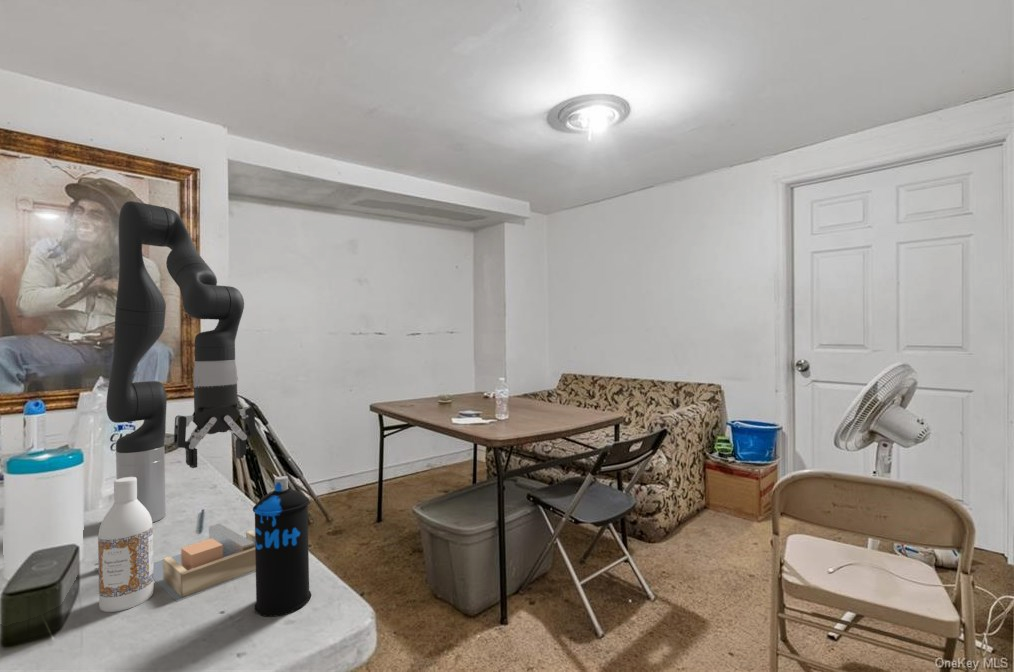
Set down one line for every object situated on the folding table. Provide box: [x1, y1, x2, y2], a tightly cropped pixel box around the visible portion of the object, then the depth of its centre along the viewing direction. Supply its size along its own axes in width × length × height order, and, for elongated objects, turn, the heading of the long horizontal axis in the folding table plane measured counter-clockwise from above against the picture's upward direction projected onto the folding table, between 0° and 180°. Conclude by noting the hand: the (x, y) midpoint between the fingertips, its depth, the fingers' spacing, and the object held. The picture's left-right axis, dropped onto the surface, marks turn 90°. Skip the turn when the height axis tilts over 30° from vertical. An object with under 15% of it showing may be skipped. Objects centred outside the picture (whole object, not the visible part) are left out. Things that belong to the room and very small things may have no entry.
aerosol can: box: [252, 475, 312, 617], centre depth 76 cm, size 8×8×20 cm
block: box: [180, 538, 223, 570], centre depth 85 cm, size 5×5×5 cm
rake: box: [192, 523, 254, 569], centre depth 89 cm, size 16×10×4 cm, turn 51°
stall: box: [162, 530, 256, 598], centre depth 86 cm, size 10×15×4 cm, turn 141°
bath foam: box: [97, 477, 155, 613], centre depth 77 cm, size 7×7×20 cm
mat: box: [153, 553, 256, 603], centre depth 89 cm, size 20×17×1 cm
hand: (217, 462), depth 96 cm, fingers open, 8 cm apart
